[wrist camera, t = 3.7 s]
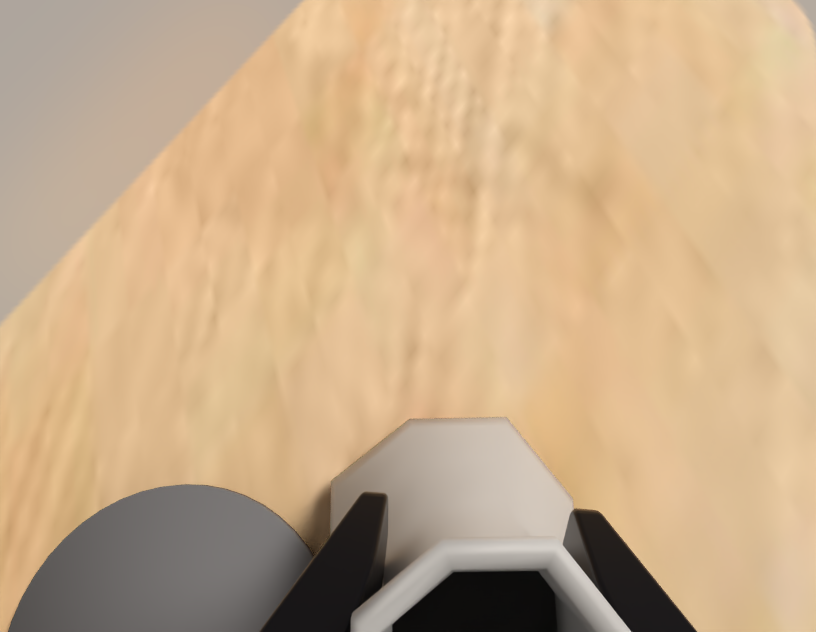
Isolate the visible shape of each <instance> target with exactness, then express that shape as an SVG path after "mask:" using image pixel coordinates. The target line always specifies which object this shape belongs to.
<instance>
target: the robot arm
mask: <svg viewBox="0 0 816 632" xmlns="http://www.w3.org/2000/svg"><path fill="white" fill-rule="evenodd" d="M387 539H388V496H387V494H385V493H381V492H369V491H366V492H363V493H362V494H361V495H360V496H359V497H358V498H357V500H356V501H355V502H354V504H353V505H352V506H351V508H350V509H349V510H348V512H347V513H346V515H345V516H344V517H343V519H342V520H341V521H340V523H339V524H338V525H337V527H336V528H335V529H334V531H333V532H332V533H331V535H330V536H329V537H328V539H327V540H326V542H325V543H324V544H323V546H322V547H321V548H320V550H319V551H318V552H317V554H316V555H315V556H314V558H313V559H312V560H311V562H310V563H309V565H308V566H307V567H306V569H305V570H304V571H303V573H302V574H301V575H300V577H299V578H298V579H297V581H296V582H295V583H294V585H293V586H292V587H291V589H290V590H289V592H288V593H287V594H286V596H285V597H284V598H283V600H282V601H281V602H280V604H279V605H278V606H277V608H276V609H275V610H274V612H273V613H272V615H271V616H270V617H269V619H268V620H267V621H266V623H265V624H264V625H263V627H262V628H261V629H260V631H259V632H351V616H352V612H354V611H355V610H356V609H357V608H358V607H360V606H361V605H362V604H363V603H364V602H366V601H367V600H368V599H369V598H370V597H372V596H373V595H374V594H375V593H376V592H378V591H379V590H380V589H381V588H382V585H383V576H384V567H385V558H386V549H387ZM563 546H564V547H565V549H566V550H567V551H568V552H569V554H570V555H571V556H572V558H573V559H574V560H575V561H576V563H577V564H578V565H579V566H580V568H581V569H582V570H583V571H584V573H585V574H586V575H587V576H588V578H589V579H590V580H591V581H592V583H593V584H594V585H595V587H596V588H597V589H598V590H599V592H600V593H601V594H602V595H603V597H604V598H605V599H606V600H607V602H608V603H609V604H610V605H611V607H612V608H613V609H614V611H615V612H616V613H617V614H618V616H619V617H620V618H621V619H622V621H623V622H624V623H625V624H626V626H627V627H628V628H629V629H630V631H631V632H697V631H696V630H695V628H694V627H693V626H692V625H691V623H690V622H689V621H688V620H687V619H686V617H685V616H684V615H683V614H682V612H681V611H680V610H679V609H678V607H677V606H676V605H675V604H674V602H673V601H672V600H671V599H670V598H669V596H668V595H667V594H666V593H665V591H664V590H663V589H662V588H661V586H660V585H659V584H658V583H657V581H656V580H655V579H654V578H653V576H652V575H651V574H650V573H649V572H648V570H647V569H646V568H645V567H644V565H643V564H642V563H641V562H640V560H639V559H638V558H637V557H636V555H635V554H634V553H633V552H632V551H631V549H630V548H629V547H628V546H627V544H626V543H625V542H624V541H623V539H622V538H621V537H620V536H619V534H618V533H617V532H616V531H615V530H614V528H613V527H612V526H611V525H610V523H609V522H608V521H607V520H606V518H605V517H604V516H603V515H602V514H601V513H600V512H598V511H596V510H588V509H573V510H572V511H571V513H570V516H569V520H568V524H567V528H566V532H565V536H564V540H563Z"/></svg>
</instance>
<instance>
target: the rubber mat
mask: <svg viewBox="0 0 816 632" xmlns="http://www.w3.org/2000/svg"><path fill="white" fill-rule="evenodd" d="M313 558H314V556H313V554H312V552H311V551H310V549H309V547H308V546H307V545H306V544H305V542H304V541H303V540H302V539H301V537H300V536H299V535H298V534H297V532H296V531H295V530H294V529H293V528H292V527H291V526H290V525H289V524H287V523H286V522H285V521H284V520H283V519H282V518H281V517H280V516H279V515H277V514H276V513H274V512H273V511H272V510H270V509H269V508H267V507H266V506H265V505H263V504H261V503H259V502H257V501H255V500H253V499H251V498H249V497H247V496H245V495H243V494H240V493H237V492H234V491H231V490H228V489H224V488H219V487H213V486H208V485H187V484H186V485H176V486H166V487H159V488H155V489H151V490H146V491H142V492H139V493H136V494H134V495H131V496H128V497H126V498H123V499H121V500H119V501H117V502H115V503H113V504H111V505H109V506H107V507H105V508H104V509H102V510H100V511H99V512H97V513H96V514H94V515H93V516H91V517H90V518H89V519H87V520H86V521H84V522H83V523H82V524H81V525H79V526H78V527H77V528H76V529H75V530H74V531H73V532H71V533H70V534H69V535H68V536H67V537H66V538H65V539H64V540H63V541H62V542H61V543H60V544H59V545H58V546H57V548H56V549H55V550H54V551H53V552H52V553H51V554H50V555H49V556H48V558H47V559H46V561H45V562H44V563H43V565H42V566H41V567H40V569H39V570H38V572H37V573H36V574H35V576H34V578H33V579H32V581H31V583H30V584H29V586H28V588H27V590H26V591H25V593H24V595H23V597H22V599H21V601H20V603H19V605H18V608H17V610H16V612H15V615H14V617H13V619H12V622H11V625H10V628H9V631H8V632H259V631H260V629H261V628H262V627H263V625H264V624H265V623H266V621H267V620H268V619H269V617H270V616H271V615H272V613H273V612H274V610H275V609H276V608H277V606H278V605H279V604H280V602H281V601H282V600H283V598H284V597H285V596H286V594H287V593H288V592H289V590H290V589H291V587H292V586H293V585H294V583H295V582H296V581H297V579H298V578H299V577H300V575H301V574H302V573H303V571H304V570H305V569H306V567H307V566H308V565H309V563H310V562H311V560H312V559H313Z"/></svg>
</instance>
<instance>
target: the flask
mask: <svg viewBox="0 0 816 632" xmlns="http://www.w3.org/2000/svg"><path fill="white" fill-rule="evenodd" d="M366 491H369V492H381V493H385V494H387V496H388V539H387V549H386V558H385V567H384V576H383V585H382V588H381V589H380V590H379V591H378V592H376V593H375V594H374V595H373V596H372V597H370V598H369V599H368V600H367V601H366V602H364V603H363V604H362V605H361V606H360V607H358V608H357V609H356V610H355V611H354V612H352V616H351V632H631V631H630V629H629V628H628V627H627V626H626V624H625V623H624V622H623V621H622V619H621V618H620V617H619V616H618V614H617V613H616V612H615V611H614V609H613V608H612V607H611V605H610V604H609V603H608V602H607V600H606V599H605V598H604V597H603V595H602V594H601V593H600V592H599V590H598V589H597V588H596V587H595V585H594V584H593V583H592V581H591V580H590V579H589V578H588V576H587V575H586V574H585V573H584V571H583V570H582V569H581V568H580V566H579V565H578V564H577V563H576V561H575V560H574V559H573V558H572V556H571V555H570V554H569V552H568V551H567V550H566V549H565V547H564V546H563V540H564V536H565V532H566V528H567V524H568V520H569V516H570V513H571V511H572V510H573V509H574V505H573V498H572V497H571V495H570V494H569V493H568V492H567V491H566V489H565V488H564V487H563V486H562V484H561V483H560V482H559V481H558V479H557V478H556V477H555V476H554V475H553V473H552V472H551V471H550V470H549V468H548V467H547V466H546V465H545V464H544V462H543V461H542V460H541V459H540V457H539V456H538V455H537V454H536V452H535V451H534V450H533V449H532V448H531V446H530V445H529V444H528V443H527V441H526V440H525V439H524V438H523V437H522V435H521V434H520V433H519V432H518V430H517V429H516V428H515V427H514V425H513V424H512V423H511V422H510V421H509V419H508V418H507V417H487V418H434V419H409V420H407V421H406V422H405V423H404V424H402V425H401V426H400V427H399V428H397V429H396V430H395V431H394V432H392V433H391V434H390V435H388V436H387V437H386V438H385V439H383V440H382V441H381V442H380V443H378V444H377V445H376V446H375V447H373V448H372V449H371V450H370V451H368V452H367V453H366V454H365V455H363V456H362V457H361V458H359V459H358V460H357V461H356V462H354V463H353V464H352V465H351V466H349V467H348V468H347V469H346V470H344V471H343V472H342V473H341V474H339V475H338V476H337V477H335V478H334V479H333V480H332V481H331V513H330V535H331V533H332V532H333V531H334V529H335V528H336V527H337V525H338V524H339V523H340V521H341V520H342V519H343V517H344V516H345V515H346V513H347V512H348V510H349V509H350V508H351V506H352V505H353V504H354V502H355V501H356V500H357V498H358V497H359V496H360V495H361V494H362V493H363V492H366Z"/></svg>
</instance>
